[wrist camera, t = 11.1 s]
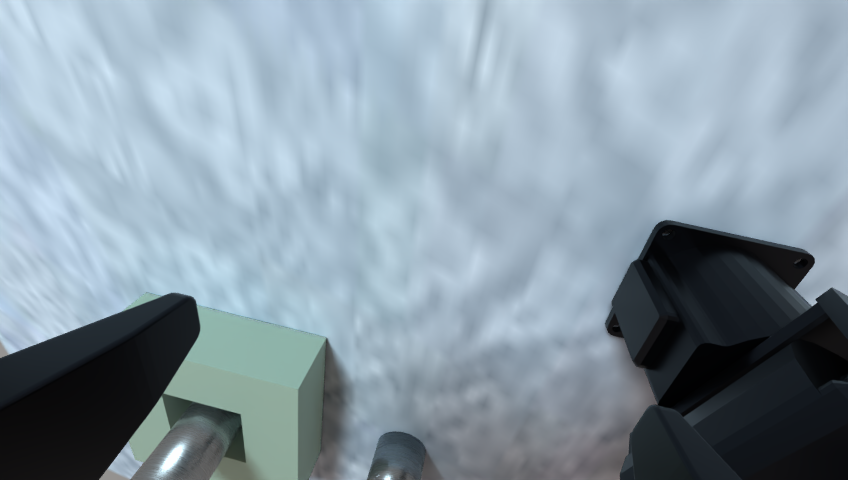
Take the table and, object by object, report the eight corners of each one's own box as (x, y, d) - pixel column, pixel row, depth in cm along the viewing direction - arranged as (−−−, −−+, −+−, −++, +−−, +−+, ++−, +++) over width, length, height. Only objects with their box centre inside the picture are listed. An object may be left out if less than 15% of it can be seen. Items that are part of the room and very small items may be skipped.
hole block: (326, 337, 25) (297, 389, 22) (320, 451, 31) (297, 505, 28) (146, 292, 26) (91, 335, 23) (174, 411, 32) (135, 459, 29)
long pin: (265, 368, 28) (186, 487, 21) (267, 401, 29) (194, 521, 23) (216, 355, 28) (122, 469, 21) (221, 389, 30) (136, 504, 23)
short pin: (429, 439, 28) (418, 498, 25) (421, 467, 30) (410, 526, 27) (380, 426, 29) (363, 483, 25) (375, 455, 30) (359, 511, 27)
